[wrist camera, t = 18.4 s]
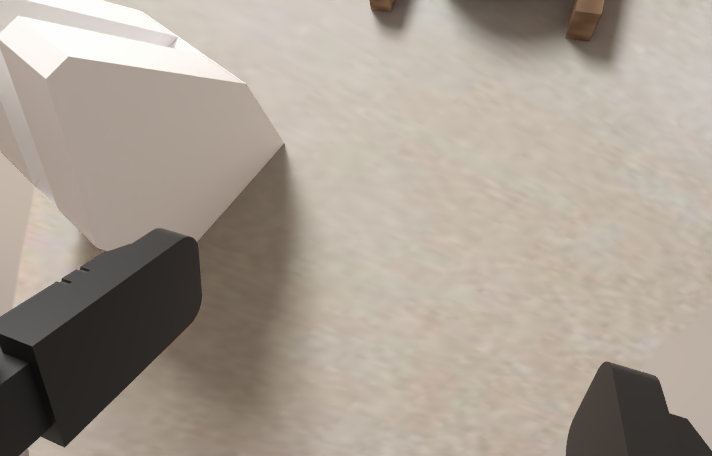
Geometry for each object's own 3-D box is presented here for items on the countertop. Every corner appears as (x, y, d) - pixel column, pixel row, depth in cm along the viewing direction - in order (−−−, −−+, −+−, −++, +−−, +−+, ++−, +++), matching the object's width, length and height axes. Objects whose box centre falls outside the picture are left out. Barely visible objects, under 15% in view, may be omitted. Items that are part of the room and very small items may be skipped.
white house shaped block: (168, 275, 51) (-62, 186, 27) (86, 196, 56) (-171, 63, 32) (284, 143, 53) (165, -41, 30) (196, 79, 58) (33, -124, 35)
